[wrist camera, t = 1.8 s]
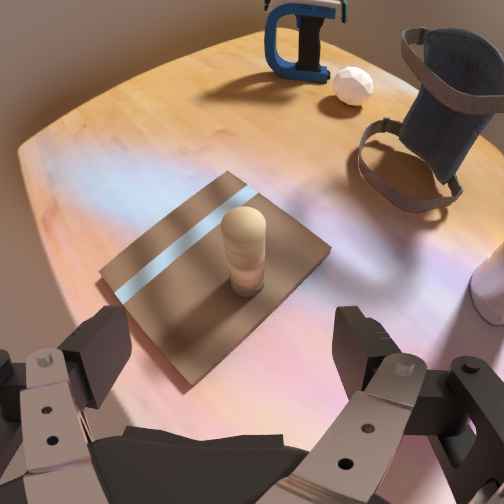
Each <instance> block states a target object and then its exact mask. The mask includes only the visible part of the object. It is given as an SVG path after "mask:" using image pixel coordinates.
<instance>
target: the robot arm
mask: <svg viewBox="0 0 504 504" xmlns="http://www.w3.org/2000/svg"><path fill="white" fill-rule="evenodd" d="M470 289H471V296H472V299H473V302H474V305H475V307H476V309H477V310H478V312H479V314H480V315H481V316H482V317H483V318H484V319H485V320H486V321H488V322H489V323H491V324H494V325H503V324H504V242H503V243H502V244H501V246H500V247H499V248H498V249H497V250H496V251H495V252H494V253H493V254H491V255H490V256H489V257H488V258H487V259H486V260H485V261H484V262H483V263H482V264H481V265H480V266H479V267H478V268H477V269H476V270H475V271H474V273H473V275H472V278H471V284H470ZM131 351H132V343H131V338H130V333H129V328H128V322H127V317H126V312H125V309H124V308H123V307H122V306H104V307H102V308H101V309H100V310H99V311H98V312H97V313H96V314H95V315H94V316H93V317H92V318H90V319H88V320H86V321H84V322H83V323H81V324H80V325H79V326H78V327H77V330H74V331H73V332H72V334H71V335H69V336H68V338H66V340H65V341H64V342H63V343H61V345H60V346H59V347H58V348H57V349H56V348H44V349H40V350H38V351H35V352H33V353H32V354H31V355H29V357H28V358H27V360H26V363H12V362H11V359H10V356H9V353H8V352H7V351H5V350H1V349H0V478H1V477H2V475H3V473H4V471H5V470H6V468H7V466H8V465H9V463H10V461H11V460H12V458H13V456H14V455H15V453H16V451H17V450H18V448H19V446H20V445H21V443H22V441H23V442H24V451H25V458H26V465H27V472H26V473H25V474H24V475H23V476H20V477H18V478H16V479H14V480H11V481H9V482H7V483H4V484H2V485H0V504H391V503H389V502H388V501H386V500H384V499H383V498H381V497H380V496H378V495H376V492H377V490H378V488H379V486H380V484H381V483H382V481H383V479H384V477H385V475H386V473H387V471H388V469H389V467H390V465H391V463H392V460H393V458H394V456H395V454H396V452H397V450H398V448H399V445H400V443H401V441H402V439H403V436H404V435H427V437H428V439H429V441H430V443H431V446H432V448H433V450H434V452H435V454H436V457H437V459H438V461H439V463H440V465H441V468H442V470H443V472H444V475H445V477H446V479H447V482H448V484H449V486H450V489H451V491H452V493H453V496H454V498H455V501H456V503H457V504H504V382H503V381H502V380H501V379H500V378H499V377H498V376H497V374H496V373H495V372H494V371H493V370H492V369H491V368H490V367H489V365H488V364H487V363H485V362H484V361H482V360H481V359H478V358H475V357H471V356H461V357H458V358H456V359H454V360H453V361H452V363H451V366H450V369H449V371H440V370H427V366H426V363H425V362H424V361H423V360H422V359H421V358H419V357H417V356H415V355H412V354H407V353H402V352H401V350H400V349H399V348H398V346H397V345H396V344H395V342H394V341H393V340H392V338H390V336H389V334H388V333H387V332H386V330H385V329H384V328H383V326H382V325H381V324H380V323H379V322H377V321H376V320H374V319H372V318H365V316H364V315H363V313H362V312H361V311H360V309H359V308H358V306H342V307H337V308H336V312H335V322H334V332H333V341H332V355H333V360H334V363H335V365H336V368H337V370H338V373H339V376H340V378H341V381H342V383H343V386H344V389H345V391H346V394H347V397H348V399H349V402H348V403H347V405H346V406H345V407H344V409H343V410H342V412H341V413H340V414H339V416H338V417H337V418H336V420H335V421H334V422H333V424H332V425H331V426H330V428H329V429H328V430H327V432H326V433H325V434H324V435H323V437H322V438H321V439H320V440H319V442H318V443H317V444H316V445H315V447H314V448H313V449H312V450H311V452H309V451H306V450H303V449H299V448H295V447H291V446H285V445H284V442H283V434H280V435H240V436H234V437H228V438H221V439H214V440H206V441H198V440H193V439H190V438H186V437H183V436H179V435H176V434H172V433H169V432H166V431H163V430H155V429H147V428H140V427H133V426H126V429H125V431H124V433H123V436H114V437H107V438H103V439H99V440H96V441H94V438H93V435H92V433H91V430H90V427H89V424H88V421H87V419H86V416H85V413H84V411H83V410H84V408H85V407H88V408H94V409H99V408H100V406H101V405H102V403H103V401H104V399H105V397H106V396H107V394H108V393H109V391H110V389H111V388H112V386H113V384H114V383H115V381H116V379H117V378H118V376H119V374H120V373H121V371H122V369H123V368H124V366H125V364H126V363H127V361H128V360H129V358H130V356H131ZM470 420H472V422H473V423H474V425H475V427H476V435H475V434H474V432H473V430H472V429H471V427H470V425H469V422H470Z"/></svg>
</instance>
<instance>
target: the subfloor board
mask: <svg viewBox="0 0 504 504" xmlns="http://www.w3.org/2000/svg"><path fill="white" fill-rule="evenodd" d="M243 206H244V207H251V208H254V209H256V210H258V211H259V212H260V213H261V214H262V215H263V216H264V218H265V221H266V236H265V270H264V286H263V289H262V290H261V292H260V293H259V294H257V295H256V296H253V297H242V296H239V295H238V294H236V293H235V292H234V290H233V288H232V285H231V280H230V275H229V269H228V264H227V259H226V253H225V248H224V243H223V237H222V231H221V221H222V218H223V217H224V215H225V214H226V213H227V212H228V211H230V210H232V209H234V208H237V207H243ZM331 248H332V247H331V246H329V245H328V244H327V243H325V242H324V241H323V240H322V239H320V238H319V237H318V236H316V235H315V234H314V233H312V232H311V231H310V230H308V229H307V228H306V227H304V226H303V225H302V224H300V223H299V222H298V221H296V220H295V219H294V218H292V217H291V216H290V215H288V214H287V213H286V212H284V211H283V210H282V209H280V208H279V207H278V206H276V205H275V204H273V203H272V202H271V201H269V200H268V199H267V198H265V197H264V196H262V195H261V194H260V193H259V192H257V191H256V190H255V189H253V188H252V187H250V186H249V185H247V184H246V183H244V182H243V181H242V180H240V179H239V178H237V177H236V176H234V175H233V174H232V173H230V172H229V171H226V172H225V173H223V174H222V175H221V176H219V177H218V178H216V179H215V180H214V181H212V182H211V183H210V184H208V185H207V186H205V187H204V188H203V189H201V190H200V191H199V192H197V193H196V194H195V195H193V196H192V197H191V198H189V199H188V200H187V201H185V202H184V203H183V204H181V205H180V206H179V207H177V208H176V209H175V210H173V211H172V212H171V213H169V214H168V215H167V216H166V217H164V218H163V219H162V220H160V221H159V222H158V223H157V224H155V225H154V226H153V227H152V228H150V229H149V230H148V231H147V232H145V233H144V234H143V235H142V236H140V237H139V238H138V239H137V240H135V241H134V242H133V243H132V244H131V245H129V246H128V247H127V248H126V249H124V250H123V251H122V252H121V253H120V254H118V255H117V256H116V257H115V258H114V259H112V260H111V261H110V262H109V263H108V264H107V265H105V266H104V267H103V268H102V269H101V270H100V271H99V273H100V274H101V276H102V277H103V278H104V280H105V281H106V283H107V284H108V285H109V287H110V288H111V289H112V291H113V292H114V293H115V295H116V296H117V297H118V299H119V300H120V301H121V303H122V304H123V305H124V307H125V308H126V309H127V310H128V312H129V313H130V314H131V316H132V317H133V318H134V319H135V321H136V322H137V323H138V324H139V326H140V327H141V328H142V329H143V331H144V332H145V333H146V334H147V335H148V337H149V338H150V339H151V340H152V341H153V343H154V344H155V345H156V346H157V347H158V348H159V350H160V351H161V352H162V353H163V354H164V355H165V357H166V358H167V359H168V360H169V361H170V362H171V363H172V365H173V366H174V367H175V368H176V369H177V370H178V371H179V372H180V373H181V374H182V376H183V377H184V378H185V379H186V380H187V381H188V382H189V383H190V384H191V385H192V386H195V385H196V384H197V383H198V382H199V381H200V380H201V379H203V378H204V377H205V376H206V375H207V374H208V373H209V372H210V371H211V370H212V369H213V368H215V367H216V366H217V365H218V364H219V363H220V362H221V361H222V360H223V359H224V358H225V357H226V356H227V355H228V354H230V353H231V352H232V351H233V350H234V349H235V348H236V347H237V346H238V345H239V344H240V343H241V342H242V341H243V340H244V339H245V338H246V337H247V336H248V335H250V334H251V333H252V332H253V331H254V330H255V329H256V328H257V327H258V326H259V325H260V324H261V323H262V322H263V321H264V320H265V319H266V318H267V317H268V316H269V315H270V314H271V313H272V312H273V311H274V310H275V309H276V308H277V307H278V306H279V305H280V304H281V303H282V302H283V301H284V300H285V299H286V298H287V297H288V296H289V295H290V294H291V293H292V292H293V291H294V290H295V289H296V288H297V287H298V286H299V285H300V284H301V283H302V282H303V281H304V280H305V279H306V278H307V277H308V276H309V275H310V274H311V273H312V272H313V271H314V270H315V269H316V268H317V266H318V265H319V264H320V263H321V262H322V261H323V260H324V259H325V258H326V257H327V256H328V255H329V254H330V251H331Z"/></svg>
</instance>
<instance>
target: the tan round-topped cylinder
mask: <svg viewBox="0 0 504 504" xmlns="http://www.w3.org/2000/svg"><path fill="white" fill-rule="evenodd" d="M221 231H222V237H223V243H224V248H225V253H226V259H227V264H228V269H229V275H230V280H231V285H232V288H233V290H234V292H235V293H236V294H238V295H239V296H242V297H253V296H256V295H257V294H259V293H260V292H261V290H262V289H263V286H264V270H265V236H266V221H265V218H264V216H263V215H262V214H261V213H260V212H259V211H258V210H256V209H254V208H251V207H244V206H243V207H237V208H234V209H232V210H230V211H228V212H227V213H226V214H225V215H224V217H223V218H222V221H221Z"/></svg>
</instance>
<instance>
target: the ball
mask: <svg viewBox="0 0 504 504" xmlns="http://www.w3.org/2000/svg"><path fill="white" fill-rule="evenodd" d="M333 88H334V93H335V94H336V95H337V97H338V98H339V99H340V100H341V101H343V102H344V103H346V104H348V105H355V106H360V105H362V104H363V103H365V102H366V101H368V99H369V98H370V97H371V95H372V94H373V82H372V80H371V78H370V77H369V75H368V74H367V73H366V72H364V71H363V70H361V69H359V68H355V67H346V68H344V69H343V70H341V71H339V72H338V73H337V75H336V77H335V78H334V80H333Z"/></svg>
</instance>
